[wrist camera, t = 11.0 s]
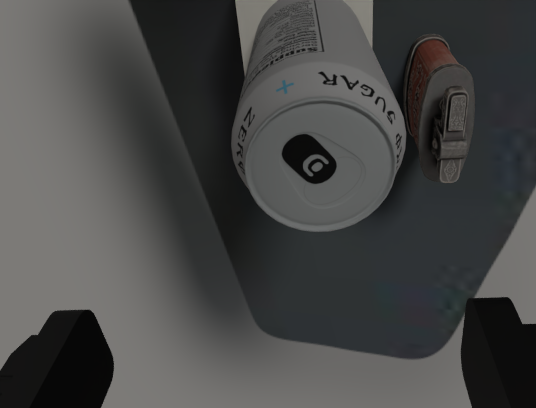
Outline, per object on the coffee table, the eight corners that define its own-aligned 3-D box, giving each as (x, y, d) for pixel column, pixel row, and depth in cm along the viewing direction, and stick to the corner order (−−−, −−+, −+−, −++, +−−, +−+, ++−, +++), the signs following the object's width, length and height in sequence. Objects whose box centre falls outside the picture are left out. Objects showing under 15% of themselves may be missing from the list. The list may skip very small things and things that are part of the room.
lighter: (443, 133, 40) (476, 201, 32) (401, 136, 41) (421, 203, 33) (454, 32, 36) (494, 79, 28) (405, 35, 36) (431, 83, 28)
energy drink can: (304, 113, 31) (312, 273, 18) (233, 41, 29) (186, 167, 16) (383, 44, 28) (455, 174, 16) (312, -40, 26) (329, 33, 14)
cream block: (243, -35, 31) (232, -22, 27) (366, -47, 30) (373, -35, 26) (256, 83, 35) (248, 108, 31) (365, 75, 34) (371, 100, 30)
